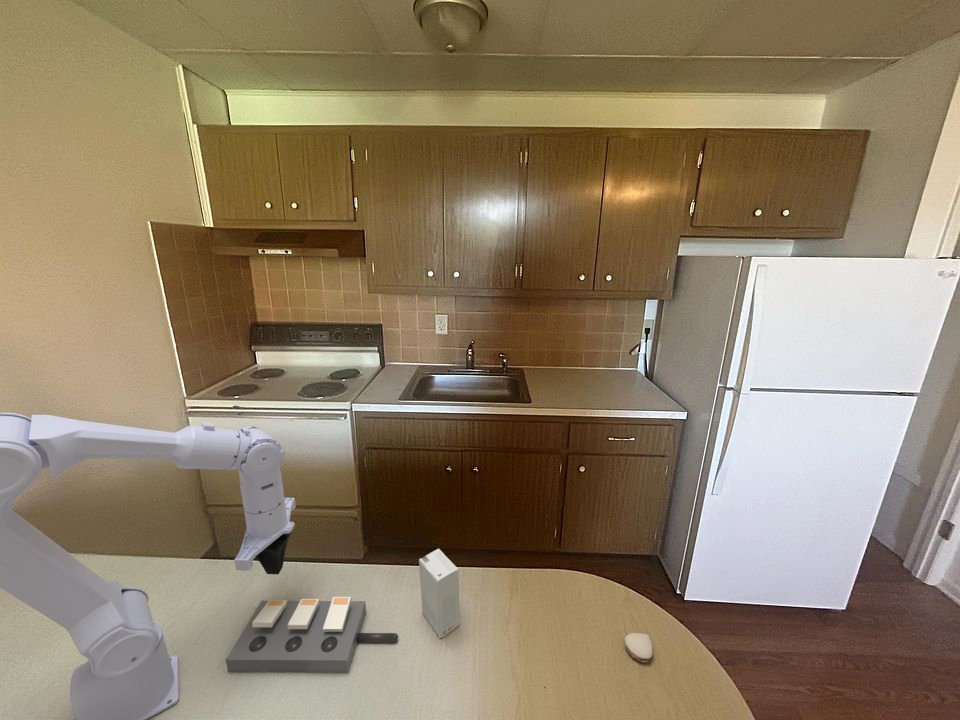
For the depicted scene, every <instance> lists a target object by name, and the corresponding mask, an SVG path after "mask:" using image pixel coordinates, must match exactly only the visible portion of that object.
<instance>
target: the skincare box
mask: <svg viewBox="0 0 960 720" xmlns="http://www.w3.org/2000/svg"><path fill="white" fill-rule="evenodd" d="M418 564H419V565H418V567H419V580H420V581H419V582H420V592H421V593H420V595H421V597H420V598H421V607H422V608H421V612H422V615H423V616H424V618H425V619H426V621H427V622H428V623H429V625H430V626H431V628H432V629H433V631H435V633H436V634H437V636H438V637H439V638H440V639H442V638H443V637H445V636H447V635H448V634H450V633H451V632H452V631H454V630H455V629H457V628H458V627H459V626H460V624H461V623H460V622H461V621H460V620H461V618H460V589H459V588H460V586H459V583H460V581H459V579H460V578H459V568H458V567H457V566H456V565H455V564H454V563H453V562H452V561H451V560H450V559H449V558H448V557H447V556H446V555H445V553H444V552H443V551H442V550H441V549H440V548H437V549H435V550H433V551H431V552H429V553H428V554H426V555H425V556H423V557H422V558H421V557H420V558H419V559H418Z"/></svg>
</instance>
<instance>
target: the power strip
mask: <svg viewBox="0 0 960 720" xmlns="http://www.w3.org/2000/svg"><path fill="white" fill-rule="evenodd" d="M268 601H269V600H265V599H263V600H260V602H259V603H258V605H257V607H256V609H255V610H254V611H253V614H252V615H251V617H250V619H249V620H248V622H247V623H246V625H245V626H244V629H243V630H242V632H241V633H240V635H239V637H238V638H237V640H236V642H235V643H234V645H233V647H232V648H231V650H230V652H229V653H228V655H227V656H226V658H225V662H226V667H227V672H228V673H335V674H336V673H338V674H339V673H340V674H342V673H346V674H347V673H349V672H350V668H351V664H352V661H353V657H354V655H355V651H356V648H357V645H358V643H396V642H397V641H398V639H399V635H398V633H396V632H395V633H394V632H361V631H362V628H363V624H364V621H365V618H366V614H367V606H366V600H365V601H363V600H362V601H361V600H357V601H356V600H351V603H350V607H349V610H348V614H347V618H346V621H345V625H344V628H343V632H324V631H323V627H324V624H325V620H326V617H327V614H328V611H329V608H330V605H331V602H332V600H319V605H318V607H317V609H316V611H315V613H314V616H313V618H312V620H311V622H310V624H309V626H308V628H307V629H288V623H289V621H290V619H291V617H292V616H293V614H294V612H295V610H296V608H297V606H298V604H299V603H300V601H301V600H287V606H286V607H285V609H284V610H283V611H282V613H281V614H280V616H279V617H278V619H277V620H276V622H275V623H274V625H273V626H272V627H253V626H252V622H253V621H254V620H255V618H256V617H257V616H258V614H259V613H260V612H261V610H262V609H263V608H264V606H265V605H266V604H267V603H268Z"/></svg>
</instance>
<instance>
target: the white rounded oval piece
mask: <svg viewBox="0 0 960 720" xmlns="http://www.w3.org/2000/svg"><path fill="white" fill-rule="evenodd" d="M623 643H624V647H625V649H626V651H627V653H628V654H629V655H630V656H631V658H633V659H635V660H636V661H639V662H641V663H647V662H649V661H650V660H651V659H652V657H653V651H654V650H653V643H652V641H651V639H650V636H649V635H648V634H647V633H641V632H640V633H639V632H632V633H628V634H627V635H626V636H625V638H624V642H623Z"/></svg>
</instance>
